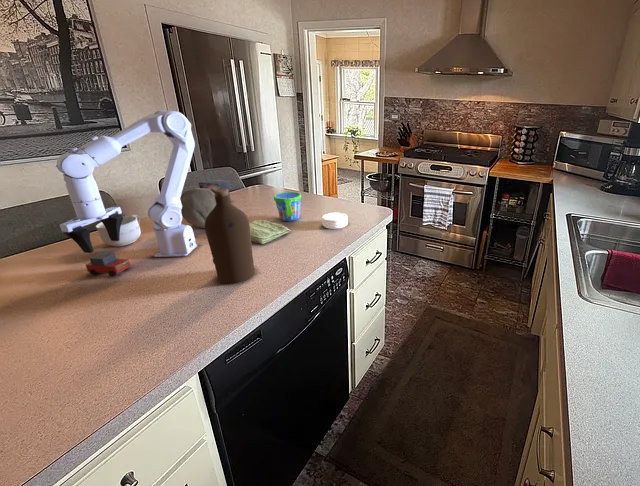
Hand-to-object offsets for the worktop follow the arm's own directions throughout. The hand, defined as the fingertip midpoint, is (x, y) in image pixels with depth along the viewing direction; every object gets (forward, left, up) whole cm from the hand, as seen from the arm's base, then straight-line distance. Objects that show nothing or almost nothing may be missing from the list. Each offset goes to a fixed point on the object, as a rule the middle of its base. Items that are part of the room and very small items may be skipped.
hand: (102, 246), depth 90 cm
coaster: (-61, -32, -8) cm, 69 cm away
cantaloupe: (-11, -34, -8) cm, 36 cm away
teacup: (+9, -22, -8) cm, 25 cm away
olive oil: (-36, +5, -8) cm, 37 cm away
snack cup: (-42, -40, -8) cm, 58 cm away
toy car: (0, 0, -8) cm, 8 cm away
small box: (-4, -64, -8) cm, 64 cm away
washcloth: (-35, -24, -8) cm, 43 cm away
